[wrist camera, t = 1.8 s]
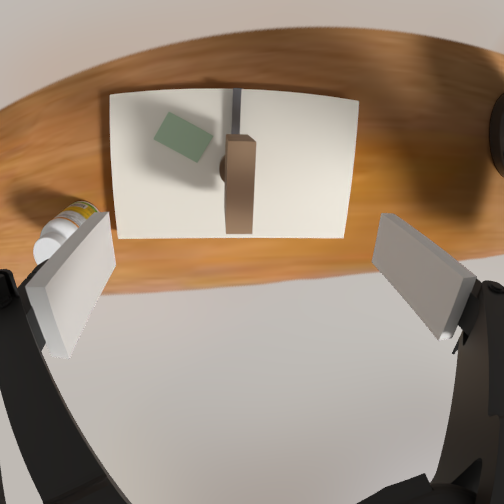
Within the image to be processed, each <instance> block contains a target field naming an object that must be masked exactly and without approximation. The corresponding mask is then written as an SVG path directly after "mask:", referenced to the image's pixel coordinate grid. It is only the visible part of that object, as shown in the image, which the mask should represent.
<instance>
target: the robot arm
mask: <svg viewBox="0 0 504 504" xmlns="http://www.w3.org/2000/svg"><path fill="white" fill-rule="evenodd" d="M490 147H491V153H492V157H493V160H494V163H495V166H496V168H497V170H498V171H499V173H500V174H501V175H502V176H503V177H504V94H503V95H501V97H500V98H499V99H498V101H497V102H496V104H495V106H494V109H493V112H492V116H491V122H490ZM372 263H373V264H374V265H375V266H376V268H377V269H378V270H379V271H380V272H381V273H382V274H383V275H384V276H385V278H386V279H387V280H388V281H389V282H390V283H391V284H392V286H393V287H394V288H395V289H396V290H397V291H398V292H399V294H400V295H401V296H402V297H403V298H404V299H405V301H406V302H407V303H408V304H409V305H410V307H411V308H412V309H413V310H414V311H415V313H416V314H417V315H418V316H419V317H420V319H421V320H422V321H423V322H424V323H425V325H426V326H427V327H428V328H429V330H430V331H431V332H432V333H433V335H434V336H435V337H436V338H437V340H438V341H440V340H445V339H450V338H452V337H453V335H454V332H455V330H456V328H457V326H458V325H459V326H460V327H461V329H462V330H463V331H462V333H461V336H460V337H459V339H458V342H457V344H456V346H455V348H454V350H453V352H452V354H455V352H456V351H457V350H458V359H457V368H456V377H455V384H454V392H453V399H452V405H451V411H450V416H449V422H448V426H447V431H446V436H445V440H444V445H443V449H442V453H441V457H440V461H439V464H438V468H437V471H436V474H435V476H434V478H433V480H432V481H431V483H429V481H428V479H427V477H426V475H425V473H424V474H421V475H419V476H416V477H413V478H411V479H408V480H405V481H403V482H399V483H397V484H394V485H391V486H387V487H385V488H383V489H382V490H380V491H378V492H377V493H375V494H373V495H372V496H370V497H368V498H366V499H364V500H362V501H361V502H359V503H357V504H504V287H503V286H502V285H501V284H499V283H497V282H493V281H483V282H482V283H481V282H480V281H479V280H478V279H477V276H475V275H474V274H473V273H472V272H471V271H469V270H468V269H467V268H466V267H464V266H463V265H462V264H461V263H459V262H458V261H457V260H456V259H454V258H453V257H452V256H451V255H449V254H448V253H447V252H445V251H444V250H443V249H442V248H440V247H439V246H438V245H436V244H435V243H434V242H432V241H431V240H430V239H428V238H427V237H426V236H424V235H423V234H422V233H420V232H419V231H417V230H416V229H415V228H413V227H412V226H411V225H409V224H408V223H406V222H405V221H404V220H402V219H401V218H399V217H398V216H396V215H395V214H390V213H381V218H380V223H379V229H378V234H377V239H376V244H375V249H374V254H373V258H372ZM115 266H116V262H115V255H114V249H113V242H112V234H111V226H110V218H109V212H94V213H93V214H92V215H91V216H90V217H89V218H88V219H87V220H86V221H85V222H84V223H83V224H82V225H81V226H80V227H79V228H78V229H77V230H76V231H75V232H74V233H73V234H72V235H71V236H70V237H69V238H68V239H67V240H66V241H65V242H64V243H63V244H62V245H61V246H60V248H59V249H58V250H57V251H56V252H55V253H54V254H53V255H52V256H51V257H50V258H49V259H47V260H45V261H43V262H42V263H40V264H39V265H37V266H36V268H35V269H34V270H33V271H32V273H30V274H29V275H28V277H27V279H25V280H24V281H23V282H22V283H21V285H20V286H19V287H18V288H17V286H16V283H15V280H14V277H13V273H12V272H11V271H10V270H7V269H0V390H1V393H2V397H3V401H4V404H5V408H6V411H7V414H8V418H9V420H10V424H11V426H12V430H13V433H14V435H15V438H16V441H17V444H18V446H19V449H20V452H21V454H22V457H23V459H24V461H25V464H26V466H27V469H28V471H29V473H30V475H31V478H32V480H33V482H34V484H35V486H36V488H37V490H38V492H39V494H40V496H41V499H42V501H43V504H132V503H131V502H130V501H129V500H128V499H127V497H126V496H125V495H124V493H123V492H122V491H121V490H120V488H119V487H118V486H117V484H116V483H115V482H114V480H113V479H112V477H111V476H110V475H109V473H108V472H107V470H106V469H105V468H104V466H103V465H102V463H101V462H100V460H99V459H98V457H97V456H96V454H95V453H94V451H93V450H92V448H91V446H90V445H89V443H88V442H87V440H86V438H85V437H84V435H83V433H82V432H81V430H80V428H79V427H78V425H77V423H76V421H75V420H74V418H73V416H72V414H71V412H70V411H69V409H68V407H67V405H66V403H65V401H64V399H63V397H62V395H61V393H60V391H59V389H58V387H57V385H56V383H55V381H54V379H53V377H52V375H51V373H50V370H49V368H48V366H47V364H46V361H45V359H44V357H43V355H42V352H41V351H42V349H43V347H44V345H45V343H46V346H47V348H48V351H49V353H50V355H51V357H58V358H66V359H70V357H71V355H72V352H73V350H74V348H75V346H76V343H77V342H78V339H79V337H80V335H81V333H82V331H83V329H84V327H85V325H86V322H87V320H88V318H89V316H90V314H91V312H92V310H93V308H94V306H95V304H96V302H97V300H98V298H99V296H100V294H101V293H102V291H103V289H104V287H105V285H106V283H107V281H108V279H109V277H110V276H111V274H112V272H113V270H114V268H115ZM0 504H6V501H5V496H4V490H3V484H2V476H1V468H0Z"/></svg>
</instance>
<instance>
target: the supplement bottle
mask: <svg viewBox="0 0 504 504" xmlns="http://www.w3.org/2000/svg"><path fill="white" fill-rule="evenodd" d="M94 212H99V211H98V209H97V208H96V207H95V206H94V205H92V204H91V203H89V202H85V201H77V202H75V203H73V204H71V205H70V206H68V207H67V208H66V209H64V210H63V211H62V212H61V213H59V214H58V215H57V216H55V217H54V218H53V219H52V220H50V221H49V222H48V223H47V224H46V225H45V226H44V228H43V229H42V232H41V235H40V238H39V239H38V240H37V242H36V243H35V245H34V249H33V254H34V258H35V261H36V263H37V264H38V265H39V264H40V263H42V262H43V261H45V260H47V259H49V258H50V257H51V256H52V255H53V254H54V253H55V252H56V251H57V250H58V249H59V248H60V246H61V245H62V244H63V243H64V242H65V241H66V240H67V239H68V238H69V237H70V236H71V235H72V234H73V233H74V232H75V231H76V230H77V229H78V228H79V227H80V226H81V225H82V224H83V223H84V222H85V221H86V220H87V219H88V218H89V217H90V216H91V215H92V214H93V213H94Z"/></svg>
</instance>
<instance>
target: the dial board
mask: <svg viewBox="0 0 504 504" xmlns="http://www.w3.org/2000/svg"><path fill="white" fill-rule="evenodd" d="M232 98H233V89H171V90H154V91H141V92H130V93H120V94H111V95H110V148H111V168H112V183H113V195H114V206H115V216H116V225H117V233H118V239H141V238H344V232H345V225H346V218H347V212H348V204H349V197H350V190H351V182H352V173H353V165H354V155H355V145H356V135H357V123H358V111H359V101H356V100H350V99H344V98H337V97H330V96H322V95H314V94H305V93H295V92H284V91H270V90H253V89H242V90H241V114H240V134H248V135H249V136H250V137H251V138H253V139H254V140H255V141H256V163H255V185H254V207H253V229H252V234H226V227H225V212H224V185H225V183H224V182H223V180H222V179H221V177H220V173H219V164H220V161H221V159H222V157H223V156H224V155H225V141H226V134H231V126H232Z"/></svg>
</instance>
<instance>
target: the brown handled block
mask: <svg viewBox="0 0 504 504" xmlns="http://www.w3.org/2000/svg"><path fill="white" fill-rule="evenodd" d="M241 90H242V88H233V98H232V126H231V134H226V141H225V155H224V156H223V157H222V159H221V161H220V164H219V173H220V177H221V179H222V180H223V182H224V183H225V185H224V212H225V227H226V234H252V229H253V207H254V185H255V163H256V141H255V140H254V139H253V138H251V137H250V136H249V135H248V134H240V114H241Z"/></svg>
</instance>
